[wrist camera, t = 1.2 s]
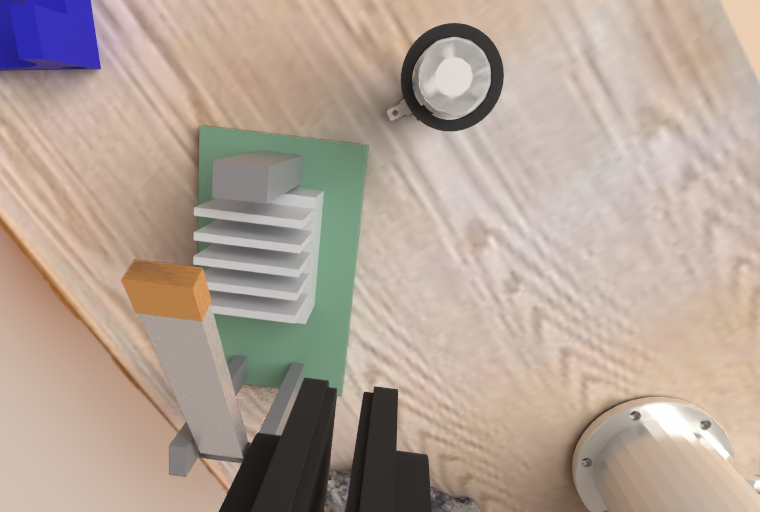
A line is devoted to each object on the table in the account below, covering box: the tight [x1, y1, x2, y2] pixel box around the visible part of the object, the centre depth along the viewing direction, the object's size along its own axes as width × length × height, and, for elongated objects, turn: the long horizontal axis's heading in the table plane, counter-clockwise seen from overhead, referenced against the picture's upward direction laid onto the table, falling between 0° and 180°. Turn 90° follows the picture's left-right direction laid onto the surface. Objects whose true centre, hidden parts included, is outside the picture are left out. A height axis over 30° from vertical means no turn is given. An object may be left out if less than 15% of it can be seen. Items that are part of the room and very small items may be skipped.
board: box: [169, 126, 369, 477], centre depth 33 cm, size 12×20×12 cm, turn 173°
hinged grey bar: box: [121, 259, 251, 463], centre depth 25 cm, size 3×17×1 cm
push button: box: [387, 23, 504, 131], centre depth 30 cm, size 7×5×10 cm
